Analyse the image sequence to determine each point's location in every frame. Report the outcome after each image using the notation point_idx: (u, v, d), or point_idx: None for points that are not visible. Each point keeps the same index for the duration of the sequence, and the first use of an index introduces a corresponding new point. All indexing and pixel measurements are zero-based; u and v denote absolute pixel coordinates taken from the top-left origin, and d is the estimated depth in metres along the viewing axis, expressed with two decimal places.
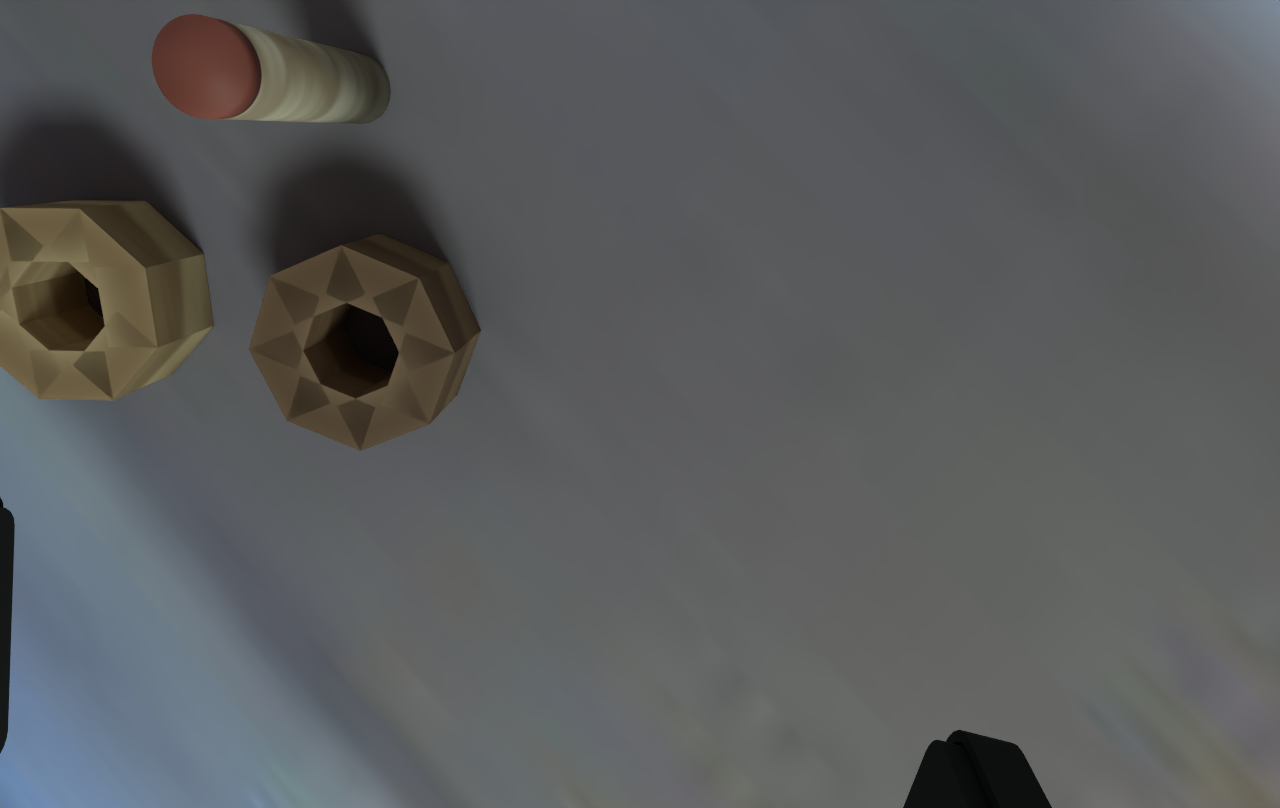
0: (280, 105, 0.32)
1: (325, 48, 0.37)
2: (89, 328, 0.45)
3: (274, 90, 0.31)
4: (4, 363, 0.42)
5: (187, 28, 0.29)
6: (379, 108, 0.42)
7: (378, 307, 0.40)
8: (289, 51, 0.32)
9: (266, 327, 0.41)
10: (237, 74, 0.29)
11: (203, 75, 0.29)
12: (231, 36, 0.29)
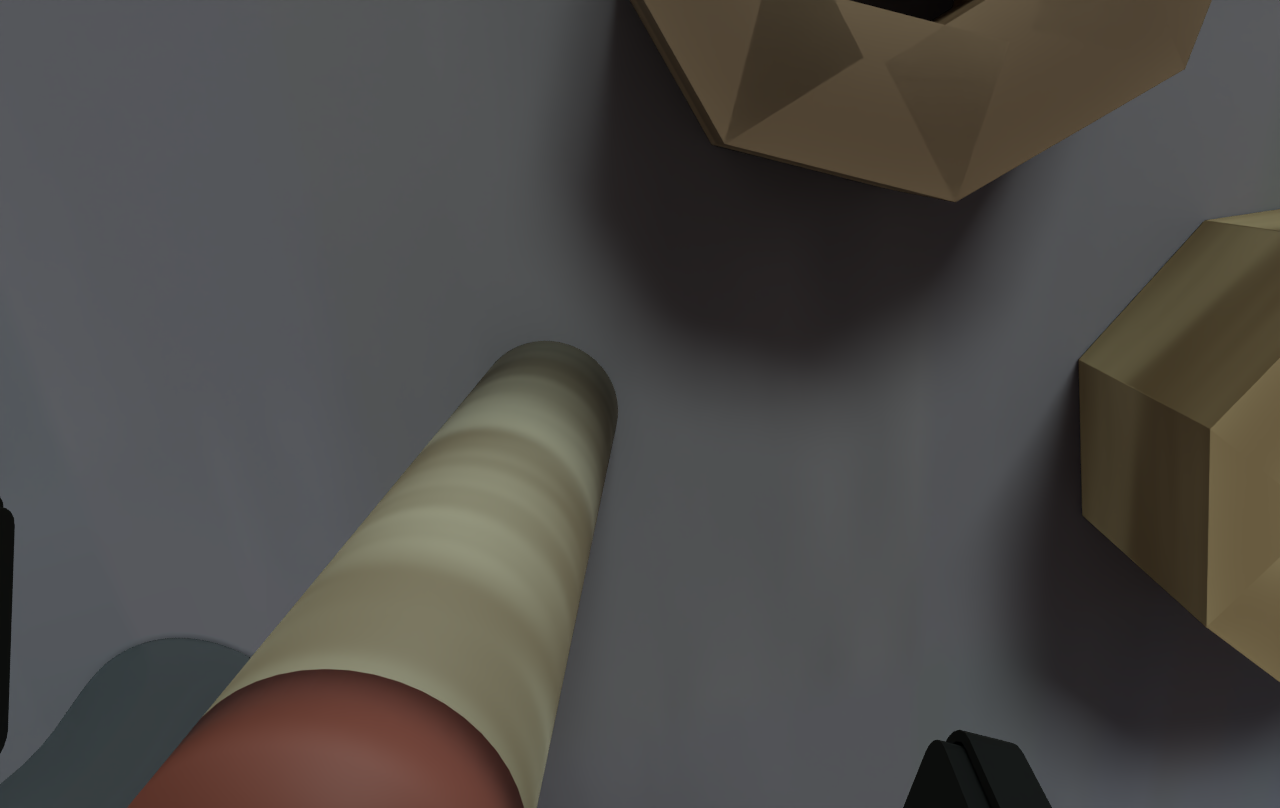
0: (376, 559, 0.09)
1: None
2: None
3: (288, 625, 0.09)
4: None
5: None
6: (517, 352, 0.19)
7: None
8: None
9: (1085, 89, 0.13)
10: None
11: None
12: None
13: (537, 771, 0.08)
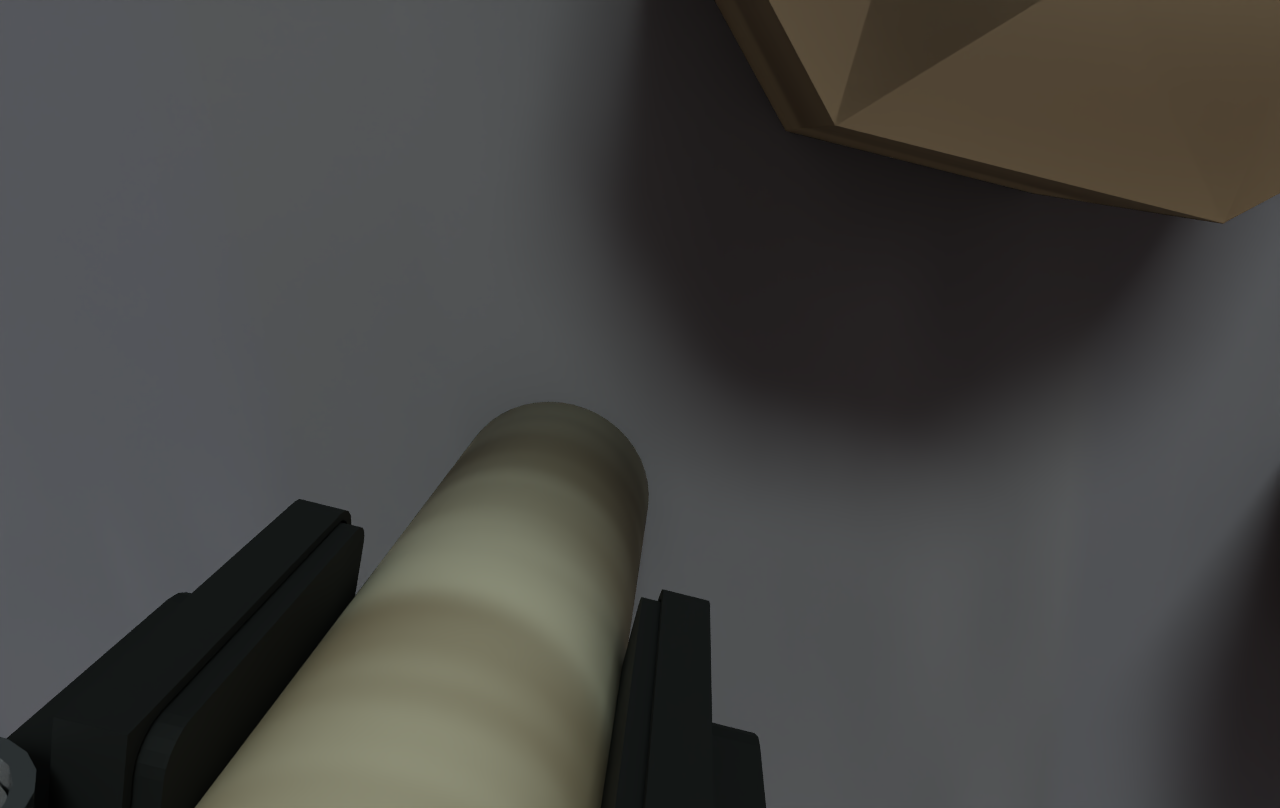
0: None
1: None
2: None
3: None
4: None
5: None
6: (509, 421, 0.14)
7: None
8: None
9: None
10: None
11: None
12: None
13: None
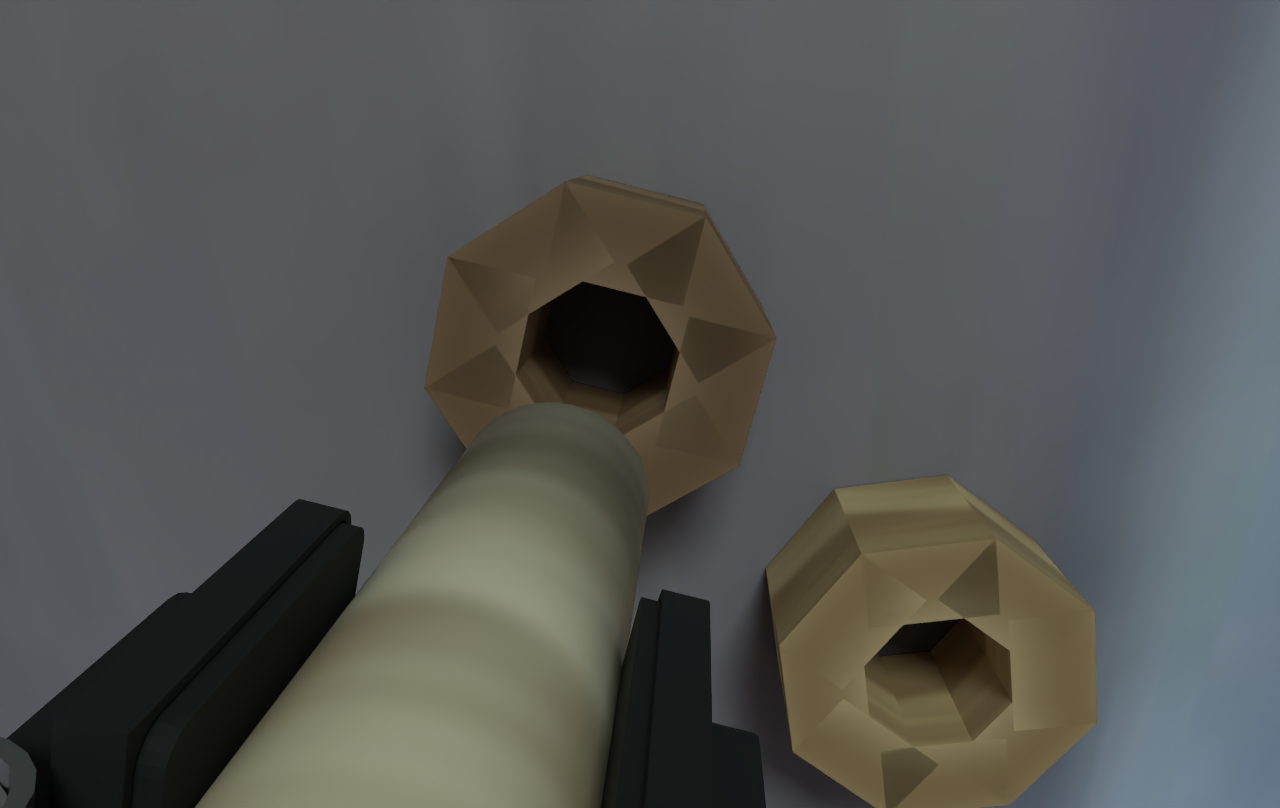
0: None
1: None
2: None
3: None
4: (1087, 678, 0.26)
5: None
6: (509, 422, 0.14)
7: (510, 391, 0.25)
8: None
9: (687, 474, 0.25)
10: None
11: None
12: None
13: None
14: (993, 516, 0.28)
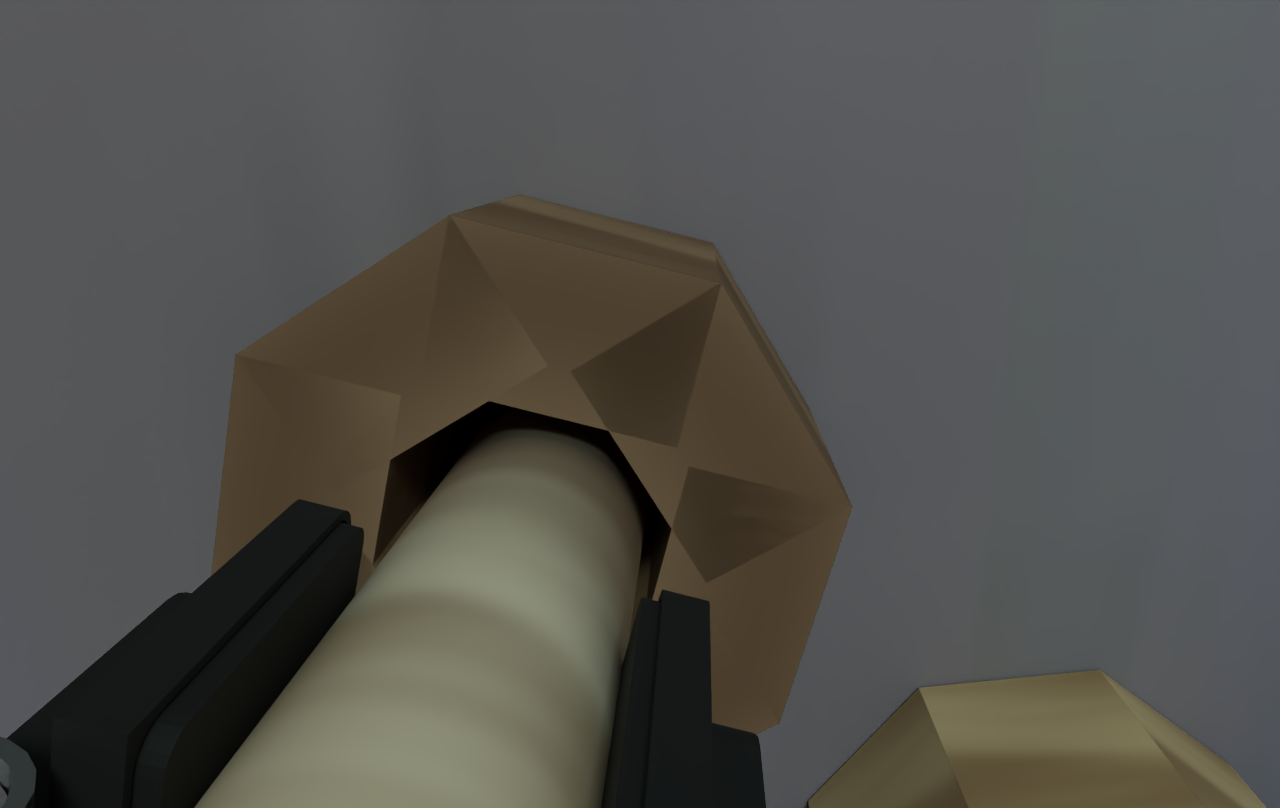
0: None
1: None
2: None
3: None
4: None
5: None
6: (509, 421, 0.14)
7: None
8: None
9: None
10: None
11: None
12: None
13: None
14: (1186, 751, 0.17)
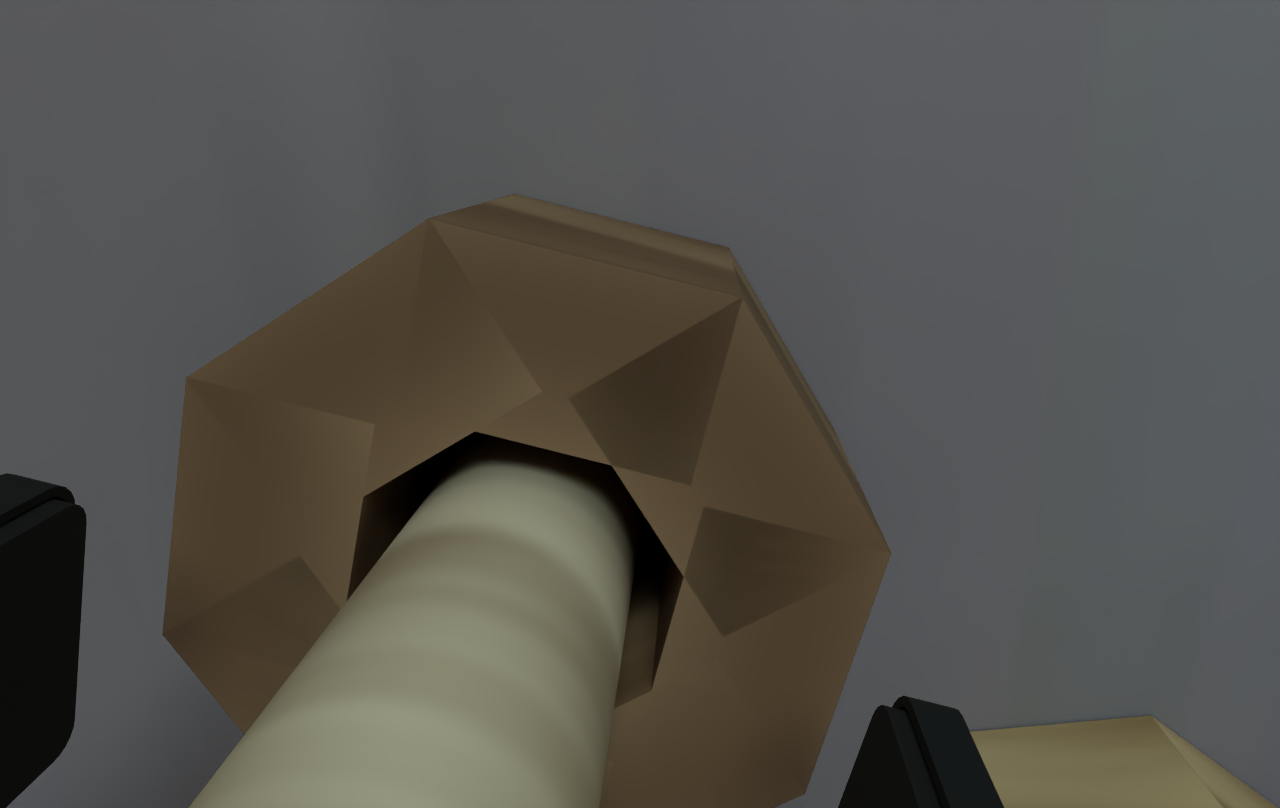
0: None
1: None
2: None
3: None
4: None
5: None
6: None
7: None
8: None
9: (699, 806, 0.12)
10: None
11: None
12: None
13: None
14: None
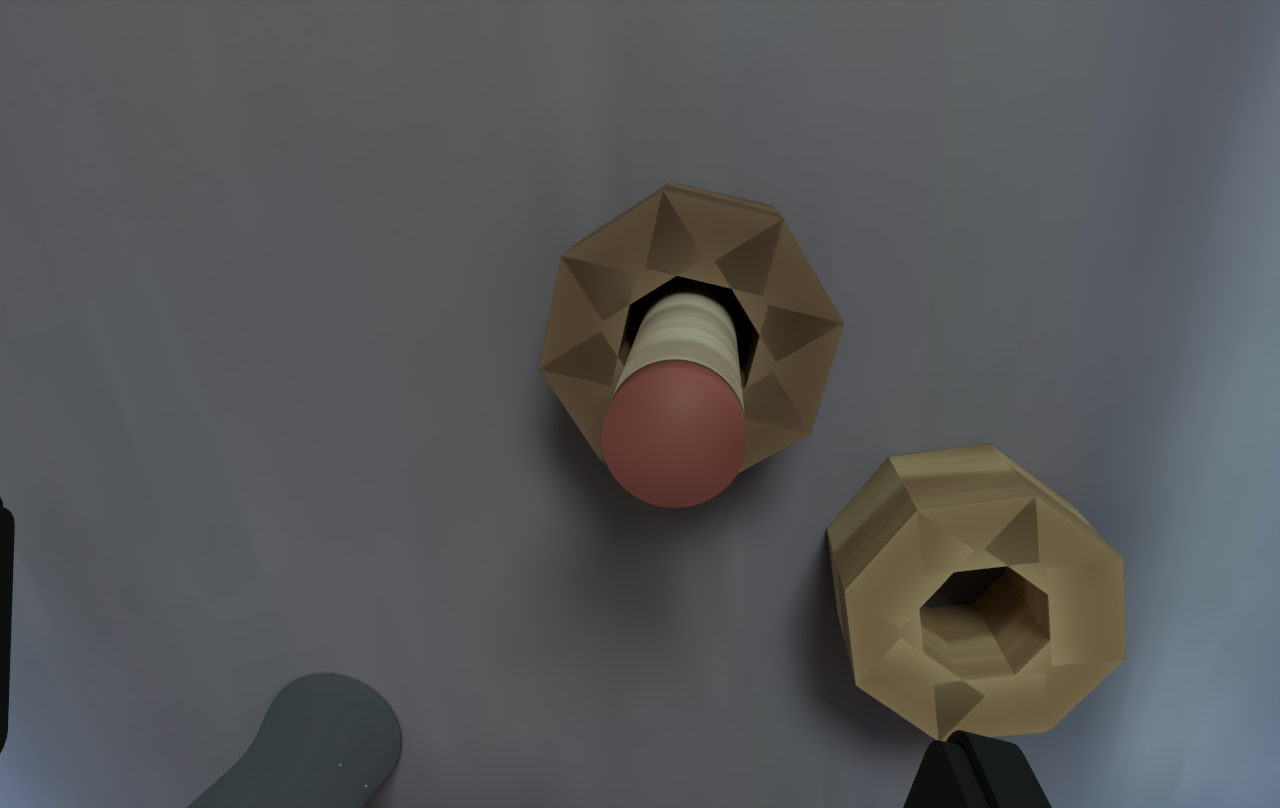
0: (666, 339, 0.22)
1: None
2: None
3: (642, 357, 0.21)
4: (1117, 618, 0.30)
5: (651, 486, 0.20)
6: (675, 278, 0.32)
7: (612, 371, 0.29)
8: None
9: (765, 441, 0.29)
10: (632, 400, 0.19)
11: (676, 429, 0.19)
12: (605, 441, 0.20)
13: None
14: (1032, 479, 0.32)
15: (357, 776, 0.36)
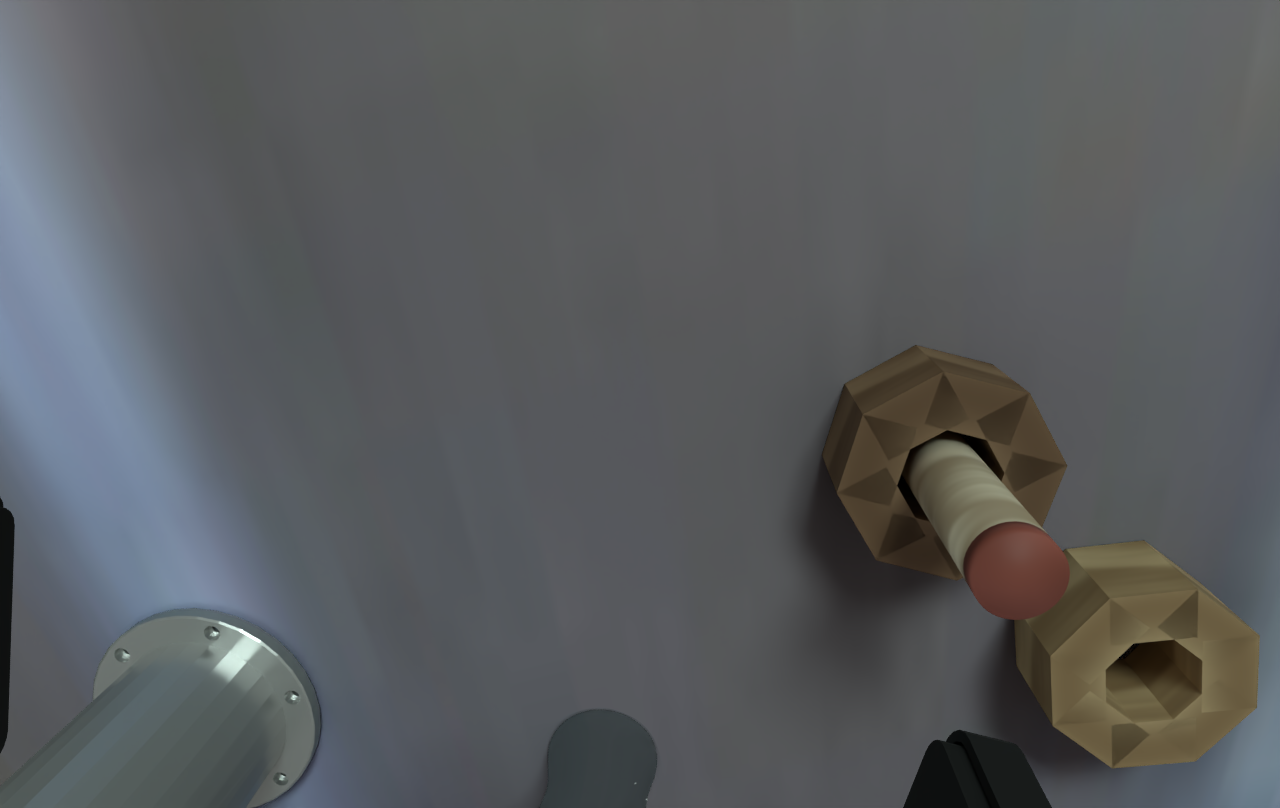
0: (988, 498, 0.32)
1: (916, 495, 0.38)
2: None
3: (980, 514, 0.32)
4: (1252, 678, 0.40)
5: (1001, 606, 0.30)
6: None
7: (892, 495, 0.39)
8: (942, 524, 0.34)
9: None
10: (996, 551, 0.30)
11: (1023, 570, 0.30)
12: (974, 576, 0.30)
13: None
14: (1180, 570, 0.43)
15: (644, 792, 0.46)
